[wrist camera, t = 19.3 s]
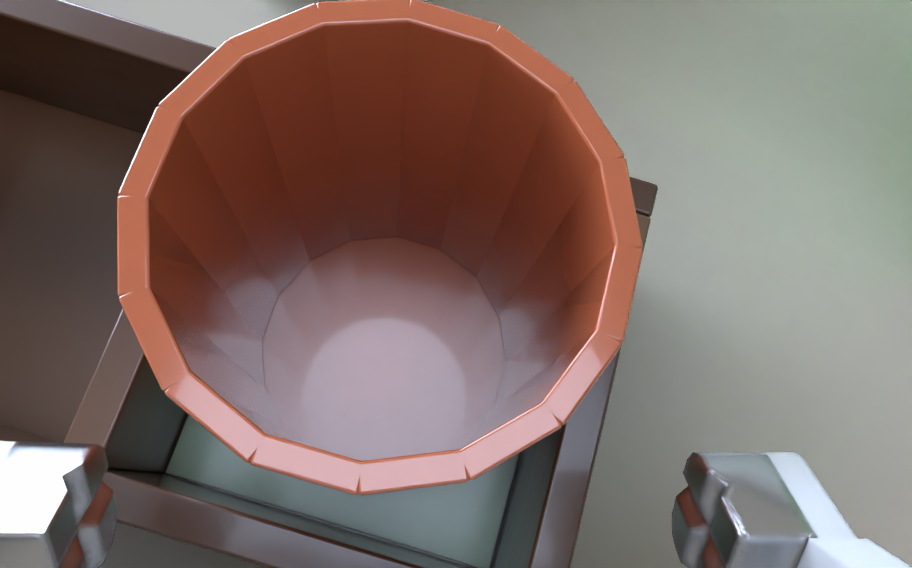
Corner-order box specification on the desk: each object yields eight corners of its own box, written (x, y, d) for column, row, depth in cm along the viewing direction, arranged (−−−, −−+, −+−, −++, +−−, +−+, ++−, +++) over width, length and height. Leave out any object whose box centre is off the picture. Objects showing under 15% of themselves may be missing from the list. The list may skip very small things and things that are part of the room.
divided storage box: (505, 610, 19) (551, 654, 14) (-212, 392, 19) (-441, 352, 14) (593, 258, 22) (659, 184, 17) (-31, 65, 22) (-163, -72, 16)
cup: (477, 525, 18) (578, 559, 9) (211, 448, 18) (23, 399, 9) (541, 272, 20) (681, 77, 11) (301, 202, 20) (227, -59, 11)
